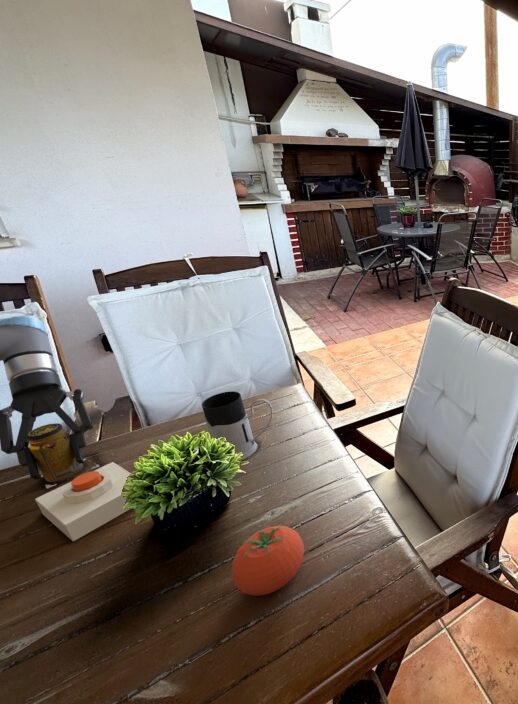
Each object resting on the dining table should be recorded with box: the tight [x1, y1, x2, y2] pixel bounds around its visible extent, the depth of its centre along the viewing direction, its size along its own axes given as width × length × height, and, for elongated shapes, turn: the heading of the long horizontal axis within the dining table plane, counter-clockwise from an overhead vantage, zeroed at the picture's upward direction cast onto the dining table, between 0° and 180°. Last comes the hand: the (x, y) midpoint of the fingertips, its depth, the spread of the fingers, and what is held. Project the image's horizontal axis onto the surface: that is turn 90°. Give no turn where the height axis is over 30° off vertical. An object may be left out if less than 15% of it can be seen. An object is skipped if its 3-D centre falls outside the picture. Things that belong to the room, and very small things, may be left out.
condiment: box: [27, 422, 100, 489], centre depth 89 cm, size 7×8×12 cm
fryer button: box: [70, 470, 102, 492], centre depth 80 cm, size 4×4×2 cm
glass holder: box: [201, 390, 274, 461], centre depth 96 cm, size 9×14×15 cm, turn 105°
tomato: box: [231, 525, 305, 597], centre depth 66 cm, size 10×10×10 cm
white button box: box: [34, 461, 132, 542], centre depth 81 cm, size 14×12×6 cm
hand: (58, 469), depth 87 cm, fingers closed on condiment, 6 cm apart
